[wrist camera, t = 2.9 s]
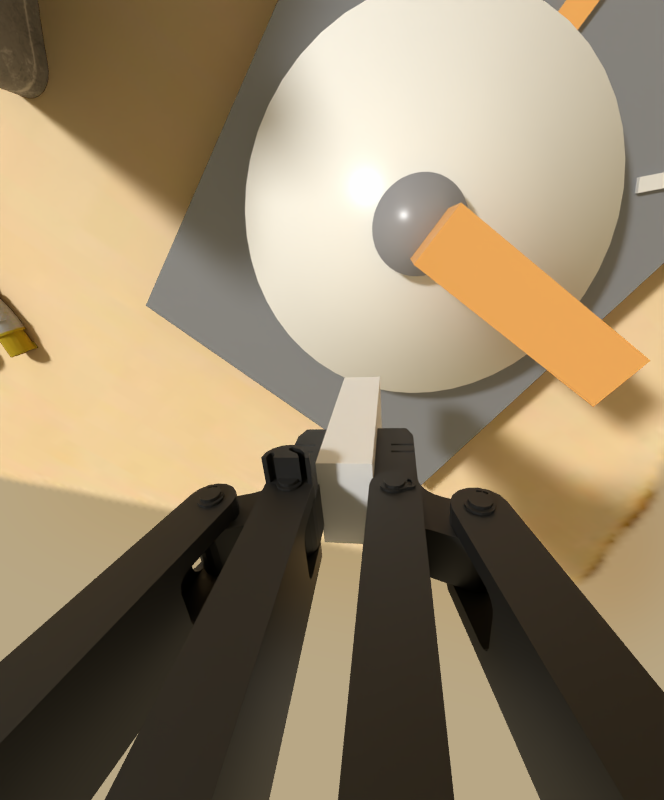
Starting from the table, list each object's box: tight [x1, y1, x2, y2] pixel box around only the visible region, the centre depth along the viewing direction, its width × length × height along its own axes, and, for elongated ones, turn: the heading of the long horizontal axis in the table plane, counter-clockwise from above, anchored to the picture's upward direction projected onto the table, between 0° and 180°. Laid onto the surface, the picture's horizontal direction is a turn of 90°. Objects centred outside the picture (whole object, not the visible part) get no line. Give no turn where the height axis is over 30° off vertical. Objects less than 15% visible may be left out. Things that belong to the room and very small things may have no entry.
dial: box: [245, 0, 650, 407], centre depth 15 cm, size 18×16×5 cm
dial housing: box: [146, 0, 664, 485], centre depth 18 cm, size 24×20×2 cm
